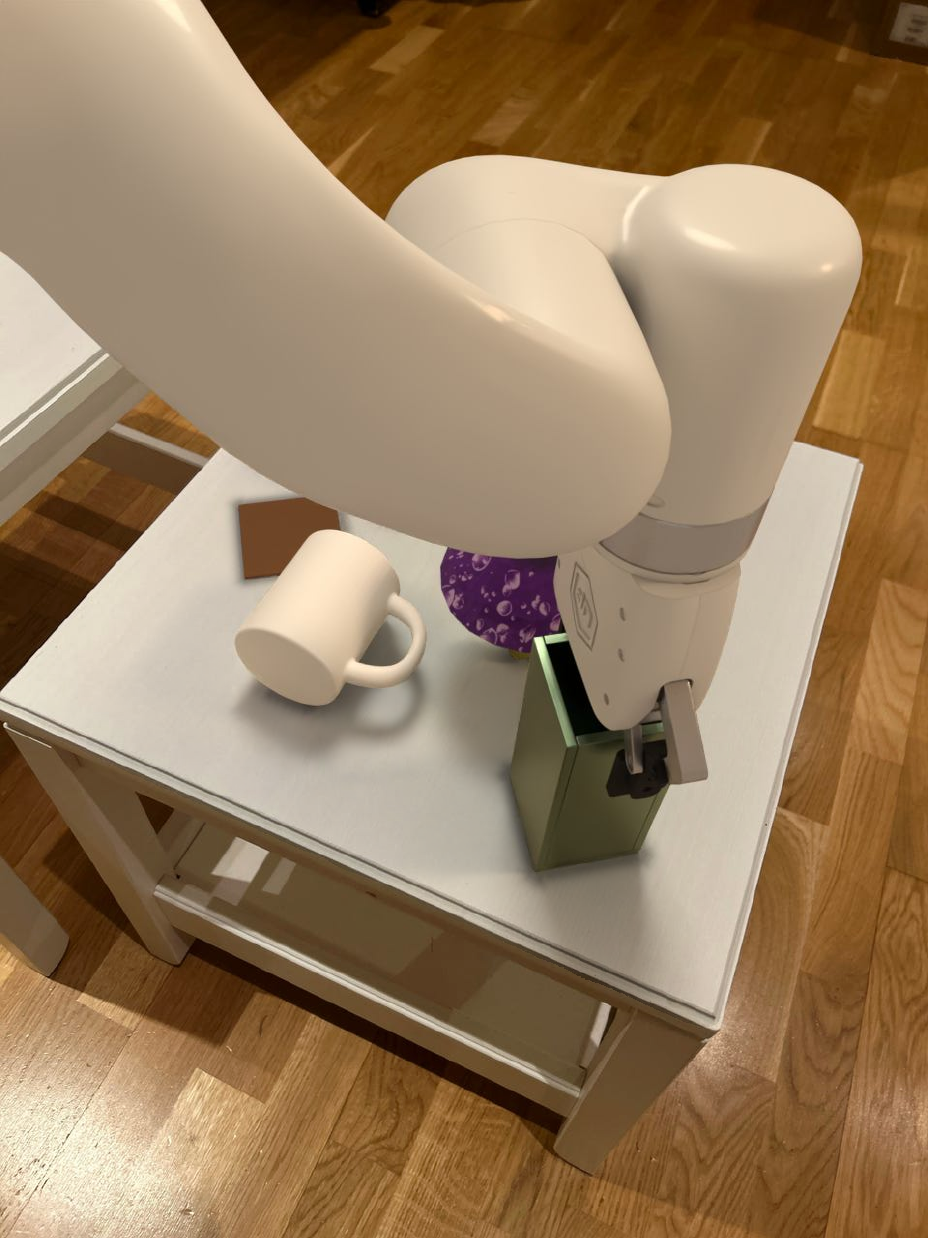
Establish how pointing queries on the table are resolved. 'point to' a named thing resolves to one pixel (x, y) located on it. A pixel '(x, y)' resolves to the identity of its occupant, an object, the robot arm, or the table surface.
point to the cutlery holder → (572, 768)
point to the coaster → (279, 532)
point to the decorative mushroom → (502, 597)
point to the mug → (328, 621)
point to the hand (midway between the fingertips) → (607, 710)
